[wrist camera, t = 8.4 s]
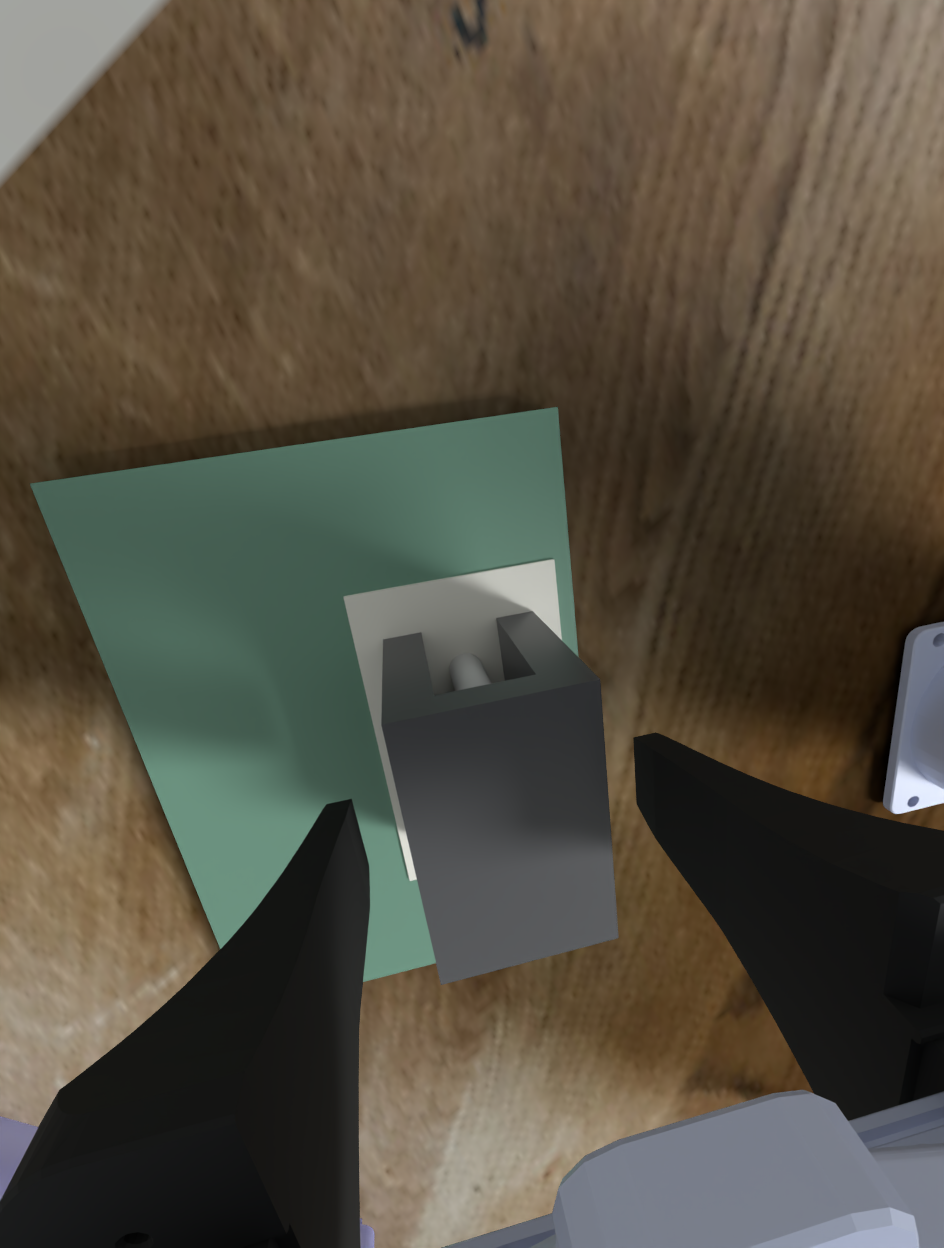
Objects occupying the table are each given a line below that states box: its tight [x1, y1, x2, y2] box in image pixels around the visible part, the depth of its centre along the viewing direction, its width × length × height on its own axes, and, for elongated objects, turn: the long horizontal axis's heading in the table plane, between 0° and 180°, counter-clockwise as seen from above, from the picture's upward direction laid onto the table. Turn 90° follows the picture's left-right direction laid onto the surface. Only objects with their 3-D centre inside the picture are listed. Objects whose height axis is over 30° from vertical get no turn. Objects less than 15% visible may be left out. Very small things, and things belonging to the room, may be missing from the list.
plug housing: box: [381, 611, 618, 985], centre depth 13 cm, size 4×7×5 cm, turn 8°
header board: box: [30, 407, 578, 982], centre depth 15 cm, size 13×18×4 cm
